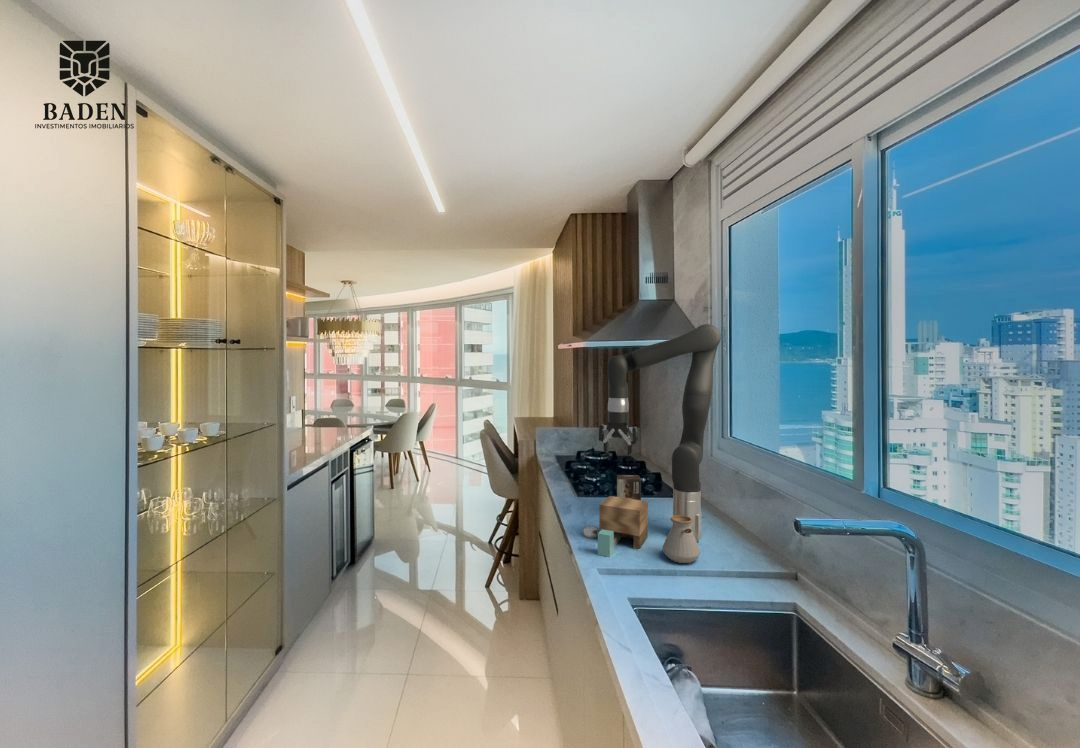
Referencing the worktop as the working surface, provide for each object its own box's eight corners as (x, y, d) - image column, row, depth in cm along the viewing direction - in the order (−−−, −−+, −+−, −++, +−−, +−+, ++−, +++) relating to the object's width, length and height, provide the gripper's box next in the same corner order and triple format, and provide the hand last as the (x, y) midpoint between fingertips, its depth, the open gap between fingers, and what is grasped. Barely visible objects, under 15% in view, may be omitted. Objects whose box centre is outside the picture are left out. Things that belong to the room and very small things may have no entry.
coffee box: (639, 514, 184) (639, 474, 183) (641, 519, 178) (641, 479, 177) (616, 513, 185) (616, 474, 184) (617, 519, 179) (618, 478, 178)
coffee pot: (660, 549, 150) (660, 504, 150) (696, 552, 148) (697, 506, 148) (668, 581, 129) (669, 529, 129) (711, 584, 127) (712, 531, 127)
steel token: (599, 535, 163) (599, 528, 163) (594, 539, 159) (594, 533, 158) (586, 532, 165) (586, 525, 165) (581, 537, 161) (581, 530, 161)
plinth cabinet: (647, 537, 160) (647, 501, 159) (639, 549, 150) (639, 510, 150) (609, 530, 166) (609, 495, 166) (599, 541, 156) (599, 504, 156)
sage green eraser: (624, 538, 159) (624, 519, 159) (609, 557, 144) (609, 535, 144) (613, 536, 161) (613, 517, 161) (597, 554, 146) (597, 533, 146)
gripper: (640, 410, 166) (639, 453, 167) (603, 408, 173) (602, 450, 174) (634, 412, 160) (634, 457, 160) (596, 410, 166) (596, 453, 167)
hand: (617, 453), depth 167 cm, fingers open, 8 cm apart
